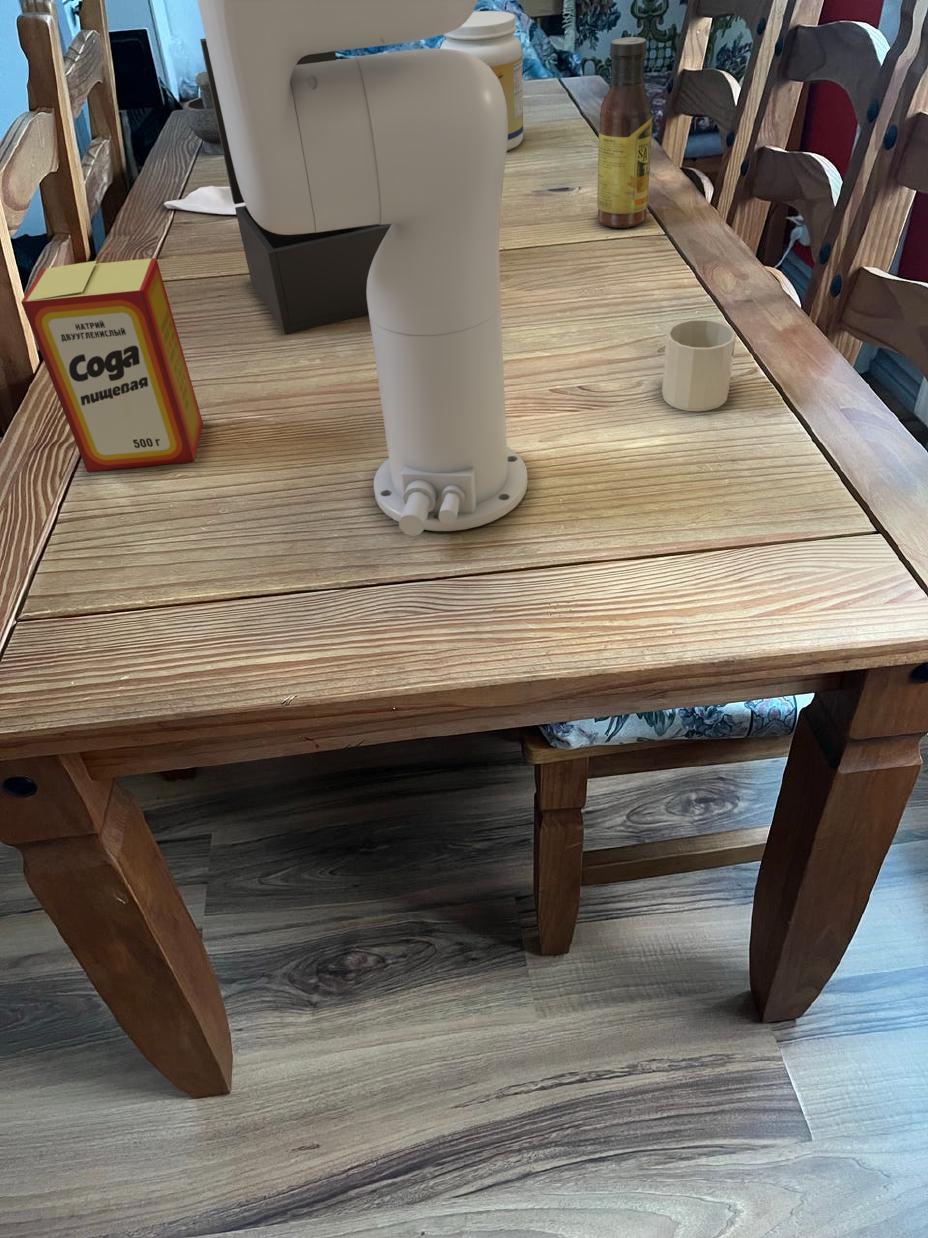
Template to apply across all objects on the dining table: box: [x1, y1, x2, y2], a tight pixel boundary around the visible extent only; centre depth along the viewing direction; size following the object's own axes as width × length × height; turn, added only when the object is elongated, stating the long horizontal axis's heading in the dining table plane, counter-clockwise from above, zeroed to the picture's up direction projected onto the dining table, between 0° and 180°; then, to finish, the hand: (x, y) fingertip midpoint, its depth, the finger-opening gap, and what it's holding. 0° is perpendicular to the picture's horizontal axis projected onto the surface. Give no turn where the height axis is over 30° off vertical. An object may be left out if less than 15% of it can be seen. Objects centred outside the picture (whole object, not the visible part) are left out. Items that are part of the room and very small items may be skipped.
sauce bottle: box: [596, 36, 654, 228], centre depth 115 cm, size 7×6×20 cm
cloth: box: [163, 185, 245, 216], centre depth 136 cm, size 26×14×2 cm, turn 91°
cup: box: [661, 318, 737, 412], centre depth 86 cm, size 6×6×6 cm
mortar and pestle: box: [183, 71, 223, 155], centre depth 152 cm, size 11×9×12 cm
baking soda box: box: [20, 257, 204, 473], centre depth 82 cm, size 10×6×16 cm
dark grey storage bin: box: [235, 205, 391, 335], centre depth 107 cm, size 16×14×9 cm
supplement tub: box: [439, 10, 525, 151], centre depth 143 cm, size 12×12×17 cm
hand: (352, 23), depth 92 cm, fingers open, 9 cm apart
